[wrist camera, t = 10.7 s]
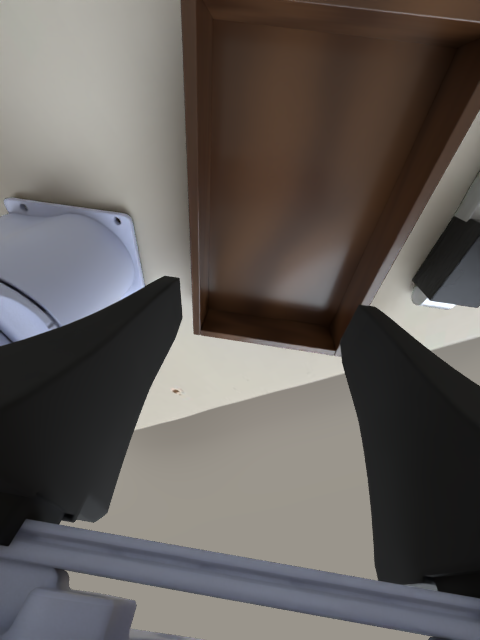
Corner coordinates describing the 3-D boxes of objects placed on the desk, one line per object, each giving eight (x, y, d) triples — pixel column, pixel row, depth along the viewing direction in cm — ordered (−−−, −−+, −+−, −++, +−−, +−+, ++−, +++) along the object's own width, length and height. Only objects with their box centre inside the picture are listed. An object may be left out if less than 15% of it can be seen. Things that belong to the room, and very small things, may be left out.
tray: (203, 309, 22) (193, 334, 20) (202, 0, 11) (178, -41, 8) (332, 328, 22) (340, 356, 19) (473, 32, 10) (542, 0, 8)
